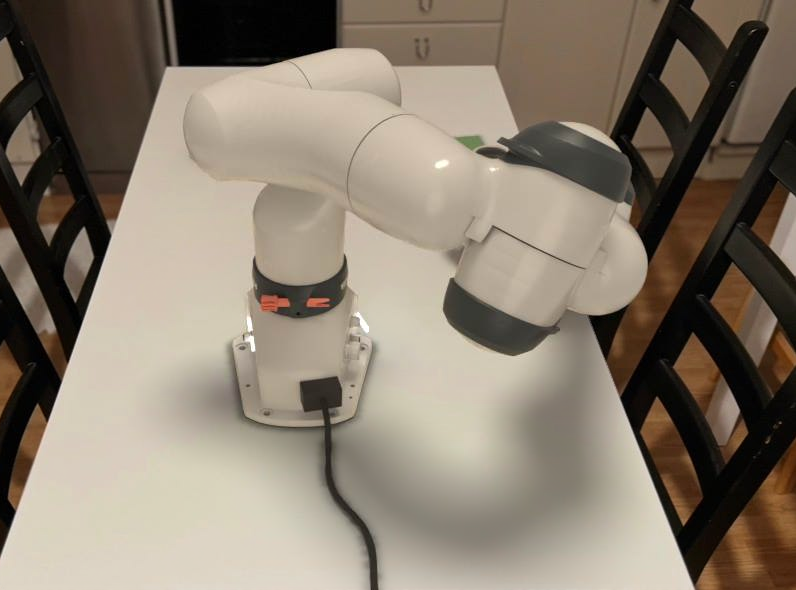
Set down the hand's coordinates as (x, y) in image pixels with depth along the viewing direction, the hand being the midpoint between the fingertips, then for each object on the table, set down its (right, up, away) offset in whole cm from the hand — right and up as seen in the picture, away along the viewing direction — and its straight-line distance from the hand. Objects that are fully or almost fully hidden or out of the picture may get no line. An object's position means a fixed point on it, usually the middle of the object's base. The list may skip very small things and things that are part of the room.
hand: (484, 175), depth 142 cm
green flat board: (-1, +10, +22) cm, 24 cm away
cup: (+1, -7, +4) cm, 8 cm away
